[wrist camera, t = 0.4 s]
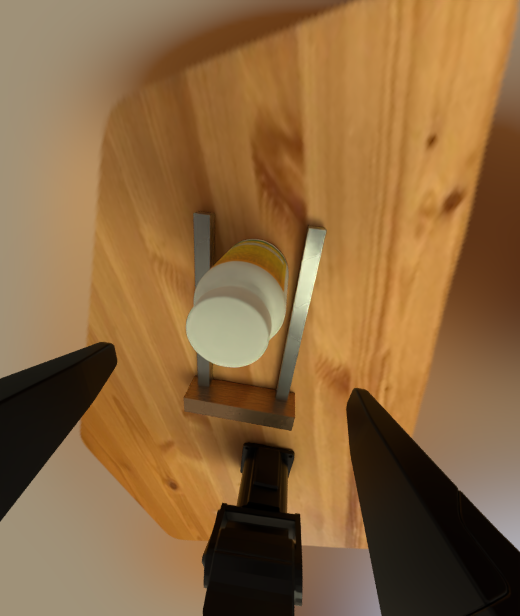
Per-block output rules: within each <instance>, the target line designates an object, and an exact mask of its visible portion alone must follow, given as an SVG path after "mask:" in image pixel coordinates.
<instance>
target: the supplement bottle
mask: <svg viewBox="0 0 520 616" xmlns="http://www.w3.org/2000/svg"><path fill="white" fill-rule="evenodd" d="M287 287H288V265H287V262H286V260H285V258H284V256H283V254H282V253H281V252H280V251H279V250H278V249H277V248H276V247H275V246H274V245H272V244H270V243H269V242H266V241H264V240H260V239H248V240H243V241H241V242H239V243H237V244H236V245H234V246H233V247H232V248H231V249H230V250H229V251H228V252H227V253H226V254H225V255H224V256H223V257H222V258H221V259H220V260H219V261H218V262H216V263H215V264H214V265H213V266H212V267H211V269H210V270H209V271H208V272H207V273H206V274H205V275H204V276H203V277H202V278H201V280H200V281H199V283H198V285H197V287H196V290H195V294H194V307H193V308H192V309H191V311H190V313H189V315H188V318H187V321H186V333H187V337H188V339H189V342H190V343H191V345H192V347H193V348H194V350H195V351H196V352H197V353H198V354H199V355H201V356H202V357H203V358H205V359H206V360H208V361H209V362H211V363H214V364H217V365H219V366H224V367H242V366H246V365H249V364H251V363H253V362H255V361H256V360H258V359H259V358H260V357H261V356H262V355H263V353H264V352H265V350H266V349H267V346H268V343H269V340H270V339H271V338H272V337H273V336H274V335H275V334H276V333H277V332H278V331H279V329H280V328H281V326H282V324H283V321H284V318H285V314H286V303H287Z"/></svg>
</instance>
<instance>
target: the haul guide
mask: <svg viewBox="0 0 520 616" xmlns="http://www.w3.org/2000/svg"><path fill="white" fill-rule="evenodd" d="M193 216H194V253H195V290H196V287H197V285H198V283H199V281H200V280H201V278H202V277H203V276H204V275H205V274H206V273H207V272H208V271H209V270H210V269H211V267H212V266H213V265H214V240H215V213H209V212H202V211H198V212H195V213H193ZM326 231H327V230H326V229H325V228H324V227H317V226H309V225H308V228H307V234H306V239H305V244H304V249H303V254H302V259H301V265H300V270H299V275H298V280H297V285H296V290H295V296H294V301H293V306H292V311H291V316H290V321H289V327H288V332H287V337H286V342H285V347H284V352H283V358H282V363H281V368H280V373H279V378H278V383H277V389H276V390H273V389H267V388H262V387H256V386H250V385H244V384H239V383H233V382H227V381H221V380H215V379H213V363H211V362H209V361H208V360H206V359H205V358H203V357H202V356H201V355H199V354H198V353H197V365H198V376H195V377H194V379H193V380H192V382H191V384H190V386H189V388H188V390H187V392H186V394H185V396H184V409H185V411H186V412H192V413H197V414H203V415H208V416H213V417H219V418H224V419H230V420H235V421H241V422H246V423H252V424H257V425H263V426H268V427H273V428H279V429H284V430H290V431H291V430H292V427H293V423H294V419H295V393H290V392H289V390H290V386H291V382H292V377H293V373H294V369H295V365H296V360H297V356H298V352H299V347H300V343H301V339H302V334H303V330H304V326H305V321H306V317H307V313H308V308H309V304H310V300H311V295H312V291H313V287H314V282H315V278H316V274H317V269H318V265H319V261H320V256H321V252H322V248H323V243H324V239H325V235H326Z"/></svg>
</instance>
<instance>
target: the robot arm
mask: <svg viewBox="0 0 520 616" xmlns="http://www.w3.org/2000/svg"><path fill="white" fill-rule="evenodd" d="M116 365H117V356H116V351H115V347H114V345H113V344H112V343H107V342H99V343H96V344H94V345H91V346H88V347H86V348H83V349H80V350H77V351H75V352H72V353H69V354H66V355H64V356H61V357H58V358H55V359H53V360H50V361H47V362H44V363H42V364H39V365H36V366H33V367H31V368H28V369H25V370H22V371H20V372H17V373H14V374H11V375H9V376H6V377H3V378H1V379H0V521H1V520H2V519H3V517H4V516H5V515H6V513H7V512H8V511H9V510H10V508H11V507H12V506H13V505H14V503H15V502H16V501H17V499H18V498H19V497H20V496H21V494H22V493H23V492H24V490H25V489H26V488H27V487H28V485H29V484H30V483H31V481H32V480H33V479H34V478H35V476H36V475H37V474H38V472H39V471H40V470H41V469H42V467H43V466H44V465H45V463H46V462H47V461H48V460H49V458H50V457H51V455H52V454H53V453H54V452H55V450H56V449H57V448H58V447H59V445H60V444H61V443H62V442H63V440H64V439H65V438H66V436H67V435H68V434H69V433H70V431H71V430H72V429H73V427H74V426H75V425H76V424H77V422H78V421H79V420H80V418H81V417H82V416H83V415H84V413H85V412H86V411H87V409H88V408H89V407H90V405H91V404H92V403H93V401H94V400H95V398H96V397H97V395H98V394H99V392H100V391H101V389H102V388H103V386H104V384H105V383H106V381H107V380H108V378H109V377H110V375H111V373H112V372H113V370H114V369H115V367H116ZM346 411H347V423H348V435H349V446H350V455H351V461H352V466H353V471H354V476H355V481H356V486H357V491H358V497H359V502H360V507H361V512H362V517H363V522H364V527H365V533H366V538H367V543H368V548H369V553H370V558H371V563H372V569H373V574H374V578H375V584H376V589H377V594H378V599H379V604H380V610H381V614H382V616H520V552H519V551H518V549H517V548H515V547H514V545H513V544H512V543H511V542H510V541H508V539H507V538H505V537H504V536H503V535H502V534H501V533H500V532H499V531H498V530H497V529H496V527H495V526H493V524H492V523H491V522H490V521H489V520H488V519H487V518H486V517H485V516H484V515H483V514H482V513H481V512H480V511H479V510H478V509H477V508H476V507H475V506H474V504H473V503H472V502H470V500H469V499H468V498H467V497H466V496H465V495H464V494H463V493H462V492H461V491H459V490H458V488H457V486H456V485H455V484H454V483H453V482H452V481H451V480H450V479H449V478H448V477H447V476H446V475H445V474H444V472H443V471H442V470H441V469H440V468H439V467H438V466H437V465H436V464H435V463H434V462H433V461H432V460H431V458H430V457H429V456H428V455H427V454H426V453H425V452H424V451H423V450H422V449H421V448H420V447H419V446H418V444H416V442H415V441H414V440H413V439H412V438H411V437H410V436H409V435H408V434H407V433H406V432H405V431H404V429H403V428H402V427H401V426H400V425H399V424H398V423H397V422H396V421H395V420H394V419H393V418H392V417H391V416H390V414H389V413H388V412H387V411H386V410H385V409H384V408H383V407H382V406H381V405H380V404H379V403H378V402H377V400H376V399H375V398H374V397H373V396H372V395H371V394H370V393H369V392H368V391H367V390H365V389H360V388H354V389H353V391H352V393H351V395H350V398H349V400H348V402H347V407H346ZM293 460H294V452H293V451H289V450H283V449H278V448H273V447H268V446H262V445H257V444H252V443H244V446H243V453H242V462H241V470H240V472H241V473H242V479H241V484H240V490H239V496H238V501H237V506H234V505H227V503H222V505H221V509H220V510H218V512H217V517H216V521H215V525H214V528H213V531H212V534H211V536H210V539H209V541H208V544H207V546H206V549H205V551H204V554H203V557H202V564H203V566H204V588H207V591H206V596H205V602H204V607H203V616H294V605H297V606H302V546H301V523H300V514H297V513H295V514H290V513H287V490H288V477H289V473H290V470H291V467H292V464H293Z"/></svg>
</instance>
